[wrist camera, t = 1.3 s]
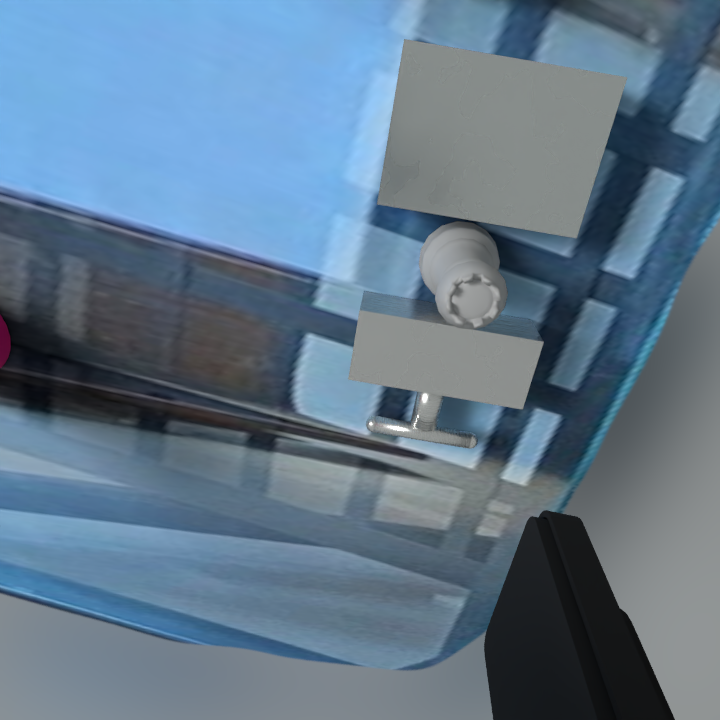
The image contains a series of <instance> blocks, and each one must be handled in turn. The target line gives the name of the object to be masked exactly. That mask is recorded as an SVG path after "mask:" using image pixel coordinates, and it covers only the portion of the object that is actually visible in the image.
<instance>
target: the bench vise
mask: <svg viewBox="0 0 720 720" xmlns="http://www.w3.org/2000/svg"><path fill="white" fill-rule="evenodd" d="M626 80H627V77H622V76H616V75H610V74H604V73H598V72H592V71H587V70H581V69H575V68H569V67H563V66H557V65H552V64H546V63H540V62H534V61H528V60H522V59H517V58H511V57H505V56H499V55H493V54H487V53H482V52H476V51H470V50H464V49H458V48H452V47H446V46H441V45H435V44H429V43H423V42H417V41H411V40H406V39H404V44H403V50H402V56H401V62H400V68H399V74H398V80H397V86H396V92H395V99H394V105H393V111H392V117H391V123H390V129H389V135H388V141H387V147H386V153H385V159H384V165H383V172H382V178H381V184H380V190H379V196H378V202H377V204H379V205H385V206H390V207H396V208H402V209H408V210H414V211H420V212H425V213H431V214H437V215H443V216H449V217H455V218H460V219H466V220H472V221H478V222H484V223H489V224H495V225H501V226H507V227H513V228H519V229H524V230H530V231H536V232H542V233H548V234H554V235H559V236H565V237H571V238H577V235H578V232H579V229H580V226H581V223H582V220H583V216H584V213H585V210H586V207H587V204H588V201H589V197H590V194H591V191H592V188H593V185H594V182H595V178H596V175H597V172H598V169H599V166H600V163H601V159H602V156H603V153H604V150H605V147H606V144H607V140H608V137H609V134H610V131H611V128H612V125H613V121H614V118H615V115H616V112H617V109H618V106H619V102H620V99H621V96H622V93H623V90H624V87H625V83H626ZM543 343H544V341H543V340H542V338H541V336H540V335H539V333H538V331H537V330H536V328H535V326H534V325H533V323H532V321H531V320H530V319H524V318H518V317H512V316H507V315H501V314H500V315H499V316H498V318H497V319H495V320H494V321H492V322H491V323H489V324H488V325H487V326H485V327H482V328H478V329H473V330H471V329H462V328H457V327H456V326H454V325H452V324H450V323H448V322H447V321H446V320H445V319H444V318H443V317H442V315H441V314H440V313H439V311H438V308H437V304H436V303H431V302H425V301H419V300H413V299H408V298H402V297H396V296H390V295H384V294H378V293H373V292H367V291H364V293H363V297H362V302H361V306H360V311H359V317H358V324H357V330H356V336H355V342H354V348H353V354H352V360H351V366H350V372H349V378H348V380H354V381H360V382H366V383H371V384H377V385H383V386H389V387H395V388H401V389H406V390H412V391H418V392H417V396H416V401H415V405H414V410H413V414H412V419H411V422H407V421H402V420H396V419H390V418H384V417H378V416H371V417H369V418H368V419H367V421H366V426H367V429H368V430H369V431H371V432H376V433H382V434H387V435H393V436H399V437H405V438H411V439H416V440H422V441H428V442H434V443H440V444H446V445H451V446H457V447H463V448H474V447H475V446H476V445H477V442H478V439H477V436H476V435H475V434H474V433H471V432H466V431H460V430H454V429H448V428H442V427H437V423H438V419H439V415H440V411H441V407H442V403H443V399H444V396H447V397H453V398H459V399H465V400H470V401H476V402H482V403H488V404H494V405H499V406H505V407H511V408H517V409H523V406H524V403H525V400H526V397H527V394H528V390H529V387H530V384H531V381H532V378H533V375H534V371H535V368H536V365H537V362H538V359H539V356H540V352H541V349H542V346H543Z"/></svg>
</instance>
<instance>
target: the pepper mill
mask: <svg viewBox="0 0 720 720" xmlns="http://www.w3.org/2000/svg"><path fill="white" fill-rule="evenodd" d="M10 349H11V342H10V335H9V331H8V328H7V325H6V323H5V321H4V320H3V318H2V316H1V315H0V368H1V367H2V366H3V365H4V364H5V362H6V361H7V359H8V357H9V353H10Z"/></svg>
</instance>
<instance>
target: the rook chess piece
mask: <svg viewBox="0 0 720 720" xmlns="http://www.w3.org/2000/svg"><path fill="white" fill-rule="evenodd" d="M499 264H500V259H499V255H498V250H497V247H496V243H495V241H494V240H493V239H492V237H491V236H490V235H489V233H488V232H487V231H486V230H485V229H483V228H481V227H479V226H478V225H476V224H474V223H469V222H460V221H456V222H453V223H449V224H446V225H443V226H441V227H439V228H438V229H437V230H436V231H434V232H433V233H432V234H430V235H429V236H428V238H427V240H426V241H425V243H424V245H423V247H422V248H421V252H420V259H419V267H420V271H421V275H422V278H423V280H424V283H425V284H426V285H427V287H428V288H429V289H430V290H431V292H432V293H433V294H434V295H436V297H435V300H436V304H437V308H438V311H439V313H440V314H441V315H442V317H443V318H444V319H445V320H446V321H447V322H448V323H450V324H452V325H454V326H456V327H457V328H462V329H471V330H473V329H478V328H482V327H485V326H487V325H488V324H489V323H491V322H492V321H494V320H495V319H497V318H498V316H499V315H500V313H501V312H502V310H503V309H504V307H505V304H506V300H507V295H508V292H507V287H506V282H505V279H504V278H503V277H502V275H501V274H500V273H499V271H498V269H499Z"/></svg>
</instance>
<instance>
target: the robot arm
mask: <svg viewBox="0 0 720 720" xmlns="http://www.w3.org/2000/svg"><path fill="white" fill-rule="evenodd" d="M484 651H485V660H486V668H487V676H488V683H489V691H490V697H491V705H492V713H493V720H675V719H674V717H673V714H672V712H671V710H670V708H669V705H668V703H667V701H666V699H665V696H664V694H663V692H662V689H661V687H660V685H659V683H658V681H657V678H656V676H655V674H654V671H653V669H652V667H651V665H650V662H649V660H648V658H647V656H646V653H645V651H644V649H643V647H642V644H641V642H640V640H639V638H638V635H637V633H636V631H635V628H634V626H633V624H632V622H631V620H630V619H629V617H628V615H627V614H626V613H625V612H624V611H623V610H621V609H620V608H619V606H618V604H617V601H616V599H615V597H614V594H613V592H612V590H611V587H610V585H609V583H608V580H607V578H606V576H605V573H604V571H603V569H602V566H601V564H600V562H599V559H598V557H597V555H596V553H595V550H594V548H593V545H592V543H591V541H590V539H589V536H588V534H587V532H586V529H585V527H584V525H583V522H582V521H581V519H580V518H578V517H575V516H571V515H566V514H561V513H556V512H551V511H547V510H545V511H543V512H542V513H541V514H540V516H539V518H537V517H533V516H532V517H530V518H529V519H528V521H527V523H526V526H525V529H524V531H523V534H522V537H521V539H520V542H519V545H518V547H517V550H516V553H515V555H514V558H513V561H512V564H511V566H510V569H509V572H508V574H507V577H506V580H505V582H504V585H503V588H502V591H501V593H500V596H499V599H498V601H497V604H496V607H495V609H494V612H493V615H492V617H491V620H490V623H489V626H488V628H487V631H486V636H485V644H484Z"/></svg>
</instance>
